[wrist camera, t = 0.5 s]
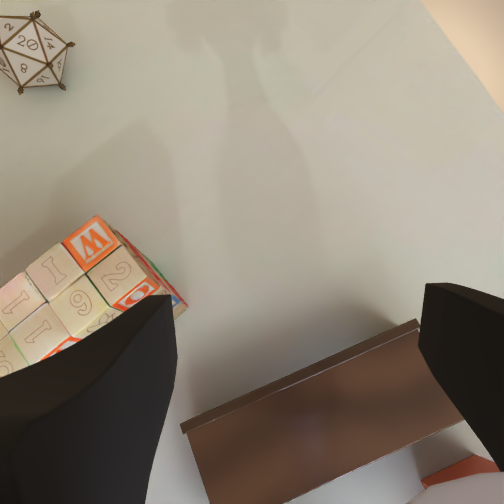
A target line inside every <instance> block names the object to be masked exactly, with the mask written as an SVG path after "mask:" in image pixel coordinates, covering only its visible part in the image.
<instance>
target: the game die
mask: <svg viewBox="0 0 504 504" xmlns="http://www.w3.org/2000/svg"><path fill="white" fill-rule="evenodd" d="M40 15H41V14H40V13H39V10H38V11H36V12H35V13H34V12H32V13H31V14H30V16H0V70H1V71H2V72H4V73H5V74H6V75H7V76H8V77H9V78H10V79H12V80H13V81H14V82H15V83H16V84H17V85H18V86H19V88H18V90H17V91H18V92H19V95H20V94H22V93H23V91H24V90H23V88H28V87H39V86H50V85H59V86H60V88H61V89H63V90H66V88H65V86H64V85H63V84H61V79H62V74H63V69H64V64H65V59H66V54H67V49H68V47H73V46H74V45H75V43H72V42H70V43H68V44H67V43H65V42H64V41H63V40H62V39H61V38H60V37H59V36H58V35H57V34H56V33H54V32H53V31H52V30H51V29H50V28H49V27H48V26H47V25H46V24H45V23H43V22H42V21H41V20H40V19H39V17H40Z"/></svg>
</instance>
